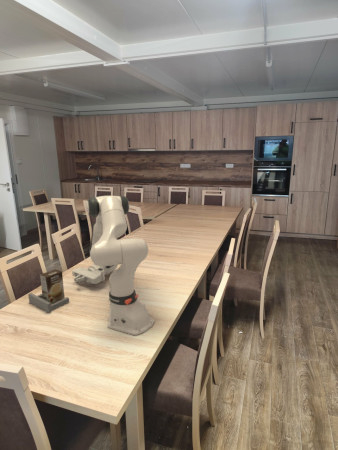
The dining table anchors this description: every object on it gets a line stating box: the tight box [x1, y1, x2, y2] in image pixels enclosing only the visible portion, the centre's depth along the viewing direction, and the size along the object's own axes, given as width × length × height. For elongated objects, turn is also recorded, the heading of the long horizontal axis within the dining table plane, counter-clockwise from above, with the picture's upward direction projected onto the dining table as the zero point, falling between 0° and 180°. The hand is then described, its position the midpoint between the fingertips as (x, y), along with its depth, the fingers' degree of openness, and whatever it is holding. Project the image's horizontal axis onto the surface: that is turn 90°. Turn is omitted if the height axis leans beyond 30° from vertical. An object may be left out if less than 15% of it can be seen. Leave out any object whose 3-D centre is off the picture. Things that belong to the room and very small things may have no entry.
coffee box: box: [39, 269, 66, 304], centre depth 154 cm, size 9×6×16 cm
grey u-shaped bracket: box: [27, 292, 70, 314], centre depth 154 cm, size 18×12×5 cm
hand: (75, 280), depth 166 cm, fingers closed
